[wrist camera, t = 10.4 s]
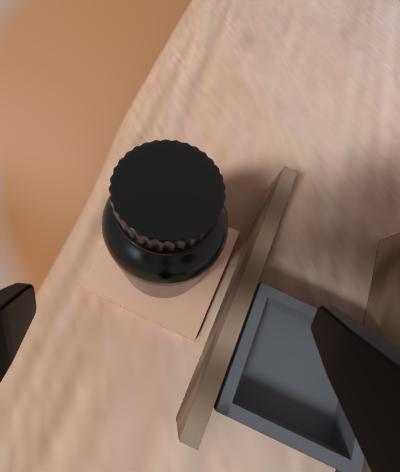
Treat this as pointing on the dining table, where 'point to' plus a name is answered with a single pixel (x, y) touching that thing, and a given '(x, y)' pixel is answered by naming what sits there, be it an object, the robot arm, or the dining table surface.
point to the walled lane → (240, 296)
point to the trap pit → (286, 383)
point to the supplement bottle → (165, 217)
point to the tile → (155, 309)
